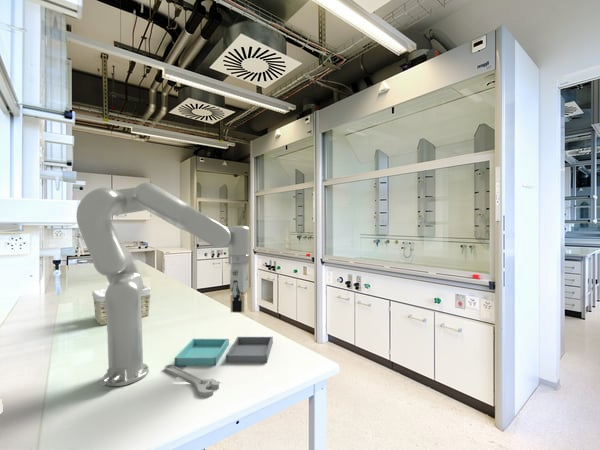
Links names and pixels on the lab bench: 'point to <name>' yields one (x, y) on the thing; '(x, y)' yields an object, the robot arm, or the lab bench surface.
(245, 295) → the sandstone block
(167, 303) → the lab bench surface
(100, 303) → the storage basket
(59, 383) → the lab bench surface
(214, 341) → the teal bin
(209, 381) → the adjustable wrench
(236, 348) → the charcoal bin
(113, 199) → the robot arm
